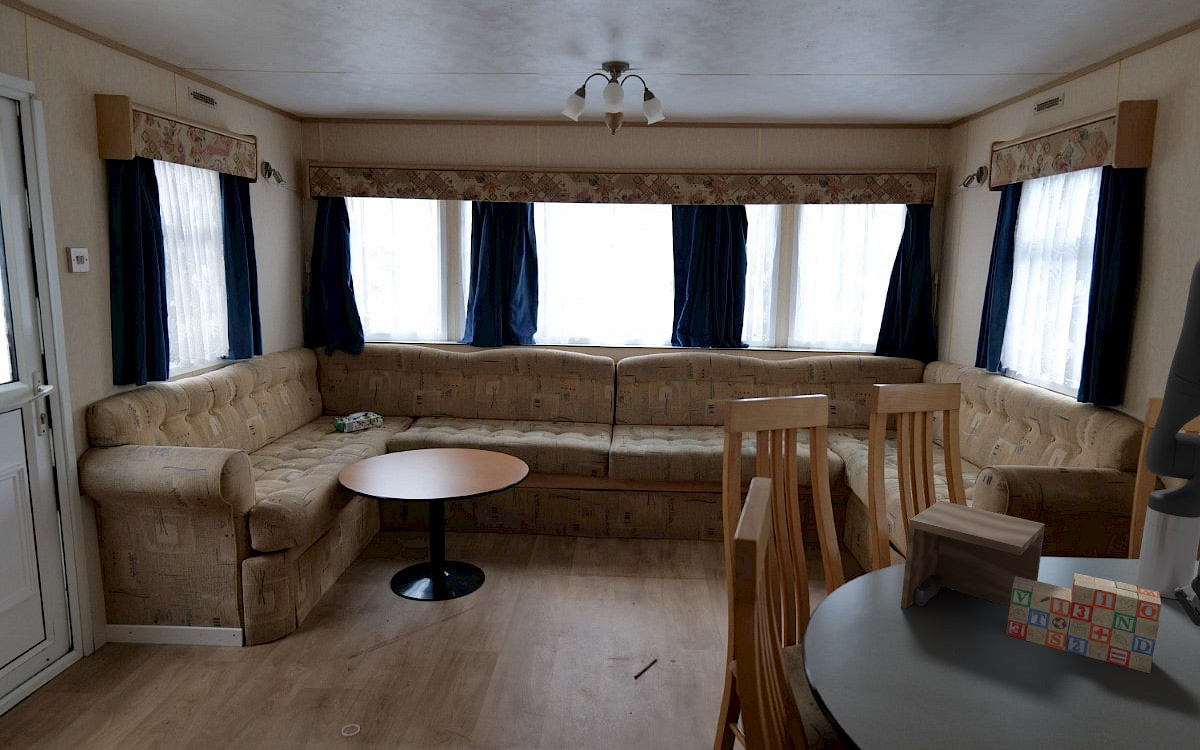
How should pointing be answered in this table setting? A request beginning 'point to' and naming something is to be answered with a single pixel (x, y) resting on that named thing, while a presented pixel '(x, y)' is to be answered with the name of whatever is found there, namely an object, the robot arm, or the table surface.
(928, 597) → the registration seat
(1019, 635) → the stack of blocks
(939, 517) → the overhang shelf
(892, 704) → the table surface
